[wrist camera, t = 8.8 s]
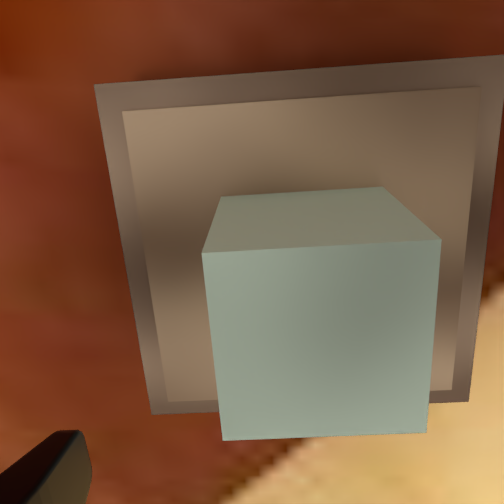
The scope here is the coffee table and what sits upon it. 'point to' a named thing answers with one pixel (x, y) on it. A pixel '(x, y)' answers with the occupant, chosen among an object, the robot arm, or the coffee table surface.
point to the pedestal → (297, 188)
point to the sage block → (321, 314)
